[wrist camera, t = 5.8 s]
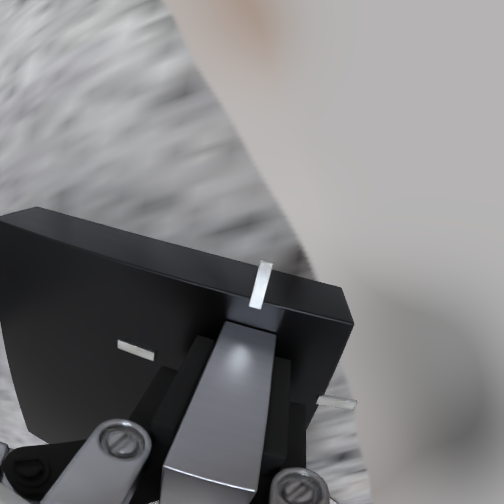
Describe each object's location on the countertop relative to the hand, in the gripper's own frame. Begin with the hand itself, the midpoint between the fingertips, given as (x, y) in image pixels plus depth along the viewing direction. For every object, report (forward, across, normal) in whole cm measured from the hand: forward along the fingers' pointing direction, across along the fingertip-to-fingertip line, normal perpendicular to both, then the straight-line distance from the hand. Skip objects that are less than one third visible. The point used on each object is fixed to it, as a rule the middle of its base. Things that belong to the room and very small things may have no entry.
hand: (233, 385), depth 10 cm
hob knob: (0, 0, 0) cm, 0 cm away
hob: (+3, +4, +4) cm, 6 cm away
